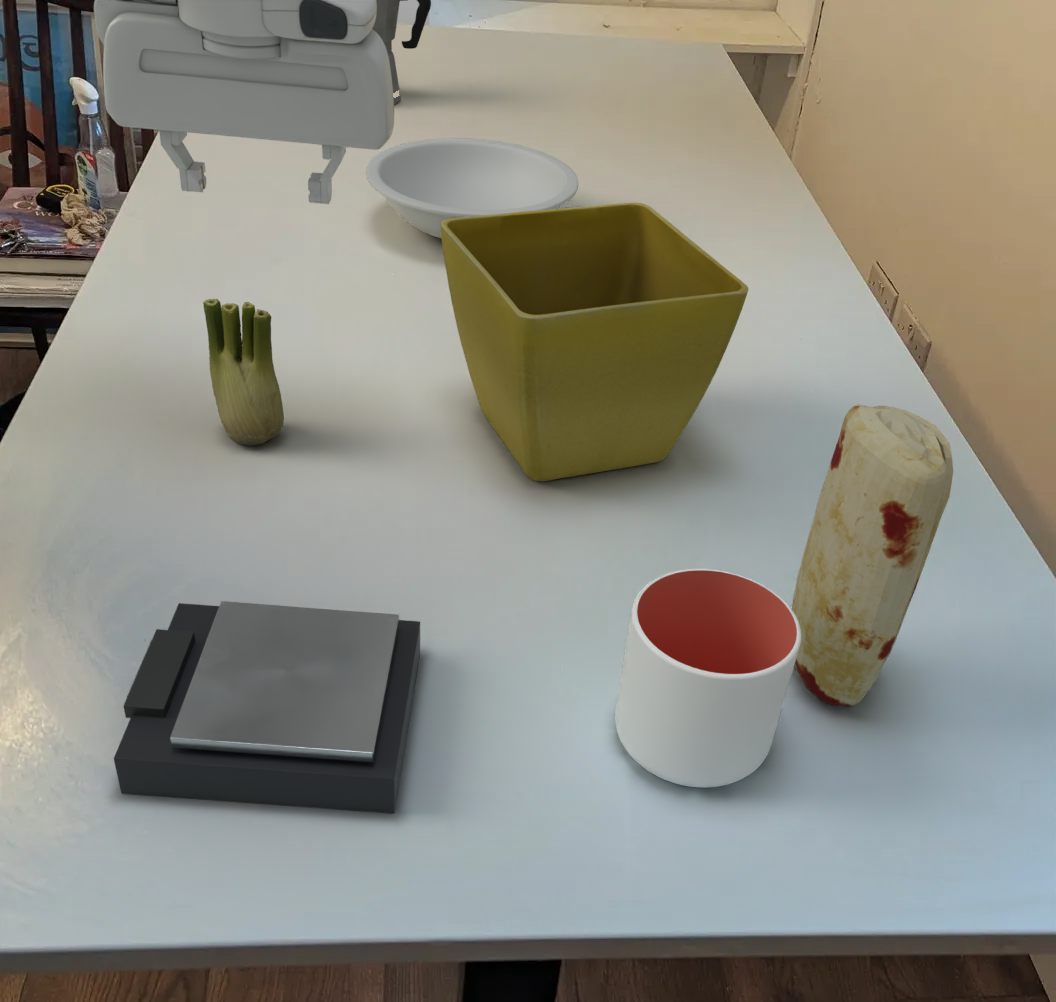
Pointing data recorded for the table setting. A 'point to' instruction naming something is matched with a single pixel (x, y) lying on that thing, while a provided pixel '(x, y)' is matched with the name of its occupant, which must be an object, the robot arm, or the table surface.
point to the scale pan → (290, 683)
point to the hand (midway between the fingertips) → (257, 195)
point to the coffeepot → (387, 29)
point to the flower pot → (587, 331)
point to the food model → (868, 547)
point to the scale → (249, 776)
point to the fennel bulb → (243, 372)
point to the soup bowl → (467, 180)
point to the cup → (705, 676)
